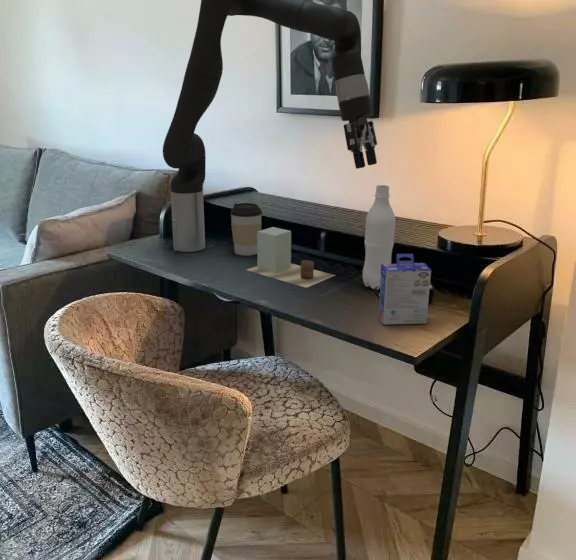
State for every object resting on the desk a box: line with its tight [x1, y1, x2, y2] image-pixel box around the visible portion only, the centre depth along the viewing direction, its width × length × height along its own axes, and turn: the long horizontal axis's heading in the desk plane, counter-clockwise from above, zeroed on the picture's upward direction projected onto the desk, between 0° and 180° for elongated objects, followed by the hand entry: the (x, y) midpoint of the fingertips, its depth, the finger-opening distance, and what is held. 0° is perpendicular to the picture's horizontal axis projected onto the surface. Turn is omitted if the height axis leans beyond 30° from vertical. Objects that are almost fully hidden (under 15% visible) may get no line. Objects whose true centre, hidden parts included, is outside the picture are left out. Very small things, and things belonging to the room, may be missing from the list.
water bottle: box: [362, 184, 396, 290], centre depth 147 cm, size 7×7×25 cm
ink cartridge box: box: [378, 253, 432, 325], centre depth 129 cm, size 10×6×14 cm, turn 95°
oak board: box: [246, 259, 336, 288], centre depth 156 cm, size 20×12×5 cm, turn 50°
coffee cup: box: [229, 202, 263, 256], centre depth 171 cm, size 9×9×15 cm
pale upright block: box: [256, 226, 292, 273], centre depth 158 cm, size 6×6×10 cm
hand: (366, 166), depth 145 cm, fingers open, 8 cm apart
